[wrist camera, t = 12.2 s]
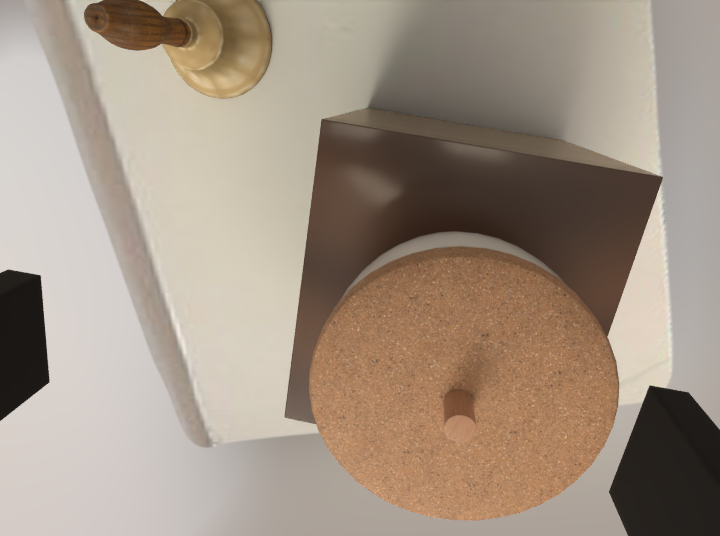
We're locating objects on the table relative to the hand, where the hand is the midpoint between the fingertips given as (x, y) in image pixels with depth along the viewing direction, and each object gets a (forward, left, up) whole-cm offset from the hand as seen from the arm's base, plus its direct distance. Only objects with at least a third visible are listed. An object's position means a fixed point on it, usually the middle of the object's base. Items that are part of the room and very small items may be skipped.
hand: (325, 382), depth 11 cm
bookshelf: (+4, +4, -32) cm, 33 cm away
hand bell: (-7, -15, -32) cm, 37 cm away
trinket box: (+4, +4, -14) cm, 15 cm away
